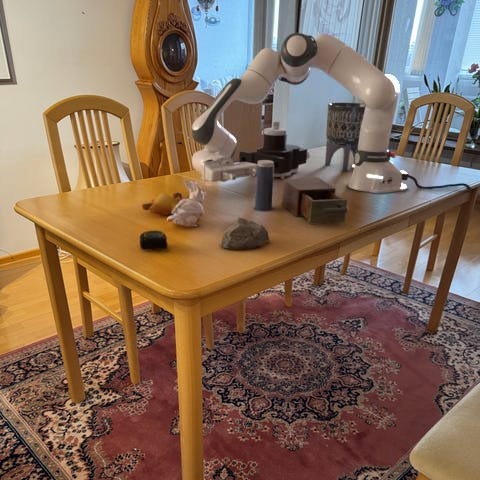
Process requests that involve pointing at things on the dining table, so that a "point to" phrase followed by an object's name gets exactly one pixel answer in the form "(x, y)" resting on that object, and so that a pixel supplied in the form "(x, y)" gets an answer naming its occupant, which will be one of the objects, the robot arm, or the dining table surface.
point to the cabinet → (297, 186)
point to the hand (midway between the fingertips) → (245, 175)
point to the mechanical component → (277, 152)
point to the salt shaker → (264, 185)
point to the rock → (244, 235)
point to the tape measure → (153, 240)
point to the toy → (163, 204)
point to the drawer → (322, 207)
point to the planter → (343, 130)
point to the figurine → (189, 206)
